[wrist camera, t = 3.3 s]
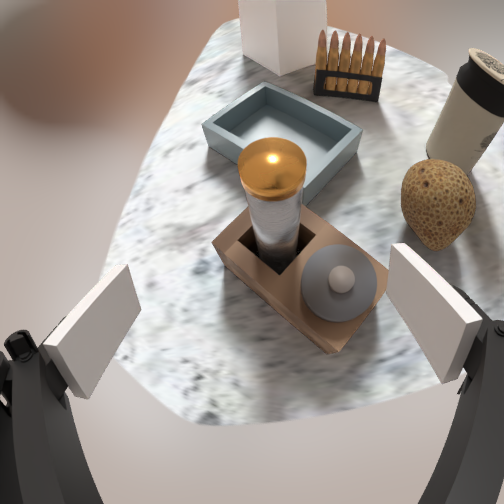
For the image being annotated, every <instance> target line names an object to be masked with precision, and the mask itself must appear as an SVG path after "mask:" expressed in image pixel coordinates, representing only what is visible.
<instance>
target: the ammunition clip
mask: <svg viewBox="0 0 504 504" xmlns="http://www.w3.org/2000/svg"><path fill="white" fill-rule="evenodd" d="M338 45H339V40H338V34H337V32H336V31H334V32H333V34H332V37H331V42H330V50H329V53H328V62H327V46H326V35H325V32H324V30H321V32H320V35H319V40H318V49H317V53H316V68H315V79H314V87H313V90H314V95H321V96H332V97H342V98H351V99H359V100H366V101H373V102H378V99H379V93H380V88H381V82H382V74H383V69H384V64H385V52H386V41H385V39H382V41H381V42H380V44H379V47H378V51H377V55H376V58H375V60H374V64H373V55H374V38H373V36H371V37H370V38H369V40H368V43H367V46H366V51H365V55H364V57H363V61H362V37H361V34H359V35H358V36H357V38H356V41H355V45H354V50H353V54H352V57H351V56H350V46H351V41H350V35H349V33H348V32H347V33H346V34H345V36H344V39H343V44H342V50H341V54H340V59H339V52H338V49H339V47H338ZM350 58H351V63H350ZM338 62H339V66H338ZM361 63H362V67H361ZM349 67H350V68H349ZM372 67H373V69H372ZM325 81H326V84H325ZM336 81H337V85H336ZM347 82H348V84H347ZM358 82H359V84H358ZM369 82H370V84H369ZM357 87H358V88H357ZM368 87H369V88H368Z"/></svg>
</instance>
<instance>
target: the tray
mask: <svg viewBox="0 0 504 504" xmlns="http://www.w3.org/2000/svg"><path fill="white" fill-rule="evenodd" d="M201 125H202V128H203V131H204V134H205V137H206V140H207V143H208V146H209V147H211V148H212V149H214V150H215V151H217V152H218V153H220V154H222V155H223V156H225V157H226V158H228V159H229V160H231V161H232V162H234V163H235V164H237V165H238V158H239V156H240V154H241V152H242V151H243V149H244V148H245V147H246V146H248V145H249V144H250V143H252V142H254V141H256V140H259V139H262V138H268V137H278V138H283V139H287V140H290V141H292V142H294V143H295V144H297V145H298V146H299V147H300V148H301V149H302V150H303V152H304V154H305V156H306V160H307V166H306V178H305V182H304V185H303V193H302V204H303V205H304V206H306V205H307V204H308V203H309V202H310V201H311V200H312V199H313V198H314V197H315V196H316V195H317V194H318V193H319V192H320V191H321V190H322V189H323V187H324V186H325V185H326V184H327V183H328V182H329V181H330V180H331V179H332V178H333V177H334V176H335V175H336V174H337V173H338V172H339V170H340V169H341V168H342V167H343V166H344V165H345V164H346V163H347V162H348V161H349V160H350V159H351V158H352V157H353V156H354V155H355V153H356V152H357V150H358V146H359V142H360V139H361V135H362V131H363V129H361V128H359V127H358V126H356V125H354V124H352V123H351V122H349V121H347V120H345V119H343V118H342V117H340V116H338V115H336V114H334V113H332V112H330V111H329V110H327V109H325V108H323V107H321V106H319V105H317V104H315V103H313V102H311V101H309V100H306V99H304V98H302V97H300V96H298V95H296V94H294V93H291V92H289V91H287V90H285V89H282V88H280V87H278V86H275V85H273V84H271V83H268V82H266V81H264V82H262V83H260V84H259V85H257V86H256V87H254V88H253V89H251V90H250V91H248V92H246V93H245V94H243V95H242V96H240V97H239V98H237V99H236V100H235V101H233V102H232V103H230V104H229V105H227V106H226V107H224V108H223V109H222V110H220V111H219V112H217V113H216V114H215V115H213V116H212V117H210V118H209V119H208V120H206V121H205V122H204V123H202V124H201Z"/></svg>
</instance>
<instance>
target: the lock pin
mask: <svg viewBox="0 0 504 504" xmlns="http://www.w3.org/2000/svg"><path fill="white" fill-rule="evenodd" d="M306 166H307V160H306V156H305V154H304V152H303V150H302V149H301V148H300V147H299V146H298V145H297V144H295V143H294V142H292V141H290V140H287V139H283V138H278V137H268V138H262V139H259V140H256V141H254V142H252V143H250V144H249V145H248V146H246V147H245V148H244V149H243V151H242V152H241V154H240V156H239V158H238V170H239V174H240V179H241V183H242V185H243V187H244V189H245V193H246V198H247V202H248V207H249V211H250V216H251V221H252V225H253V230H254V234H255V239H256V244H257V248H258V253H259V257H260V260H261V261H263V262H264V263H265V264H266V265H267V266H269V267H270V268H271V269H272V270H273V271H275V272H276V273H277V274H278V275H279V276H280V275H281V274H282V273H283V271H284V270H285V269H286V268H287V267H288V266H289V265H290V264H291V263H292V262H293V260H294V259H295V258H296V253H297V244H298V234H299V225H300V215H301V204H302V193H303V185H304V182H305V178H306Z"/></svg>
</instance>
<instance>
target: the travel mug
mask: <svg viewBox="0 0 504 504" xmlns="http://www.w3.org/2000/svg"><path fill="white" fill-rule="evenodd" d="M503 122H504V65H503V64H502V63H501V62H499V61H498V60H497V59H495V58H494V57H492V56H491V55H489V54H487V53H485V52H483V51H481V50H479V49H475V48H471V49H469V61H468V63H466V64H464V65H463V66H461V67H460V69H459V72H458V74H457V77H456V79H455V82H454V84H453V87H452V89H451V91H450V94H449V96H448V98H447V101H446V103H445V105H444V107H443V110H442V112H441V114H440V116H439V118H438V120H437V123H436V125H435V127H434V129H433V131H432V133H431V135H430V137H429V139H428V141H427V143H426V150H427V153H428V155H429V157H430V159H438V160H444V161H447V162H450V163H452V164H454V165H456V166H458V167H459V168H460V169H461V170H462V171H463V172H464V173H465V174H466V176H467V175H468V174H469V172H470V171H471V170H472V168H473V167H474V166H475V164H476V163H477V161H478V160H479V159H480V157H481V156H482V154H483V153H484V151H485V150H486V149H487V147H488V146H489V144H490V143H491V141H492V140H493V138H494V137H495V135H496V134H497V132H498V130H499V129H500V127H501V126H502V124H503Z"/></svg>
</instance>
